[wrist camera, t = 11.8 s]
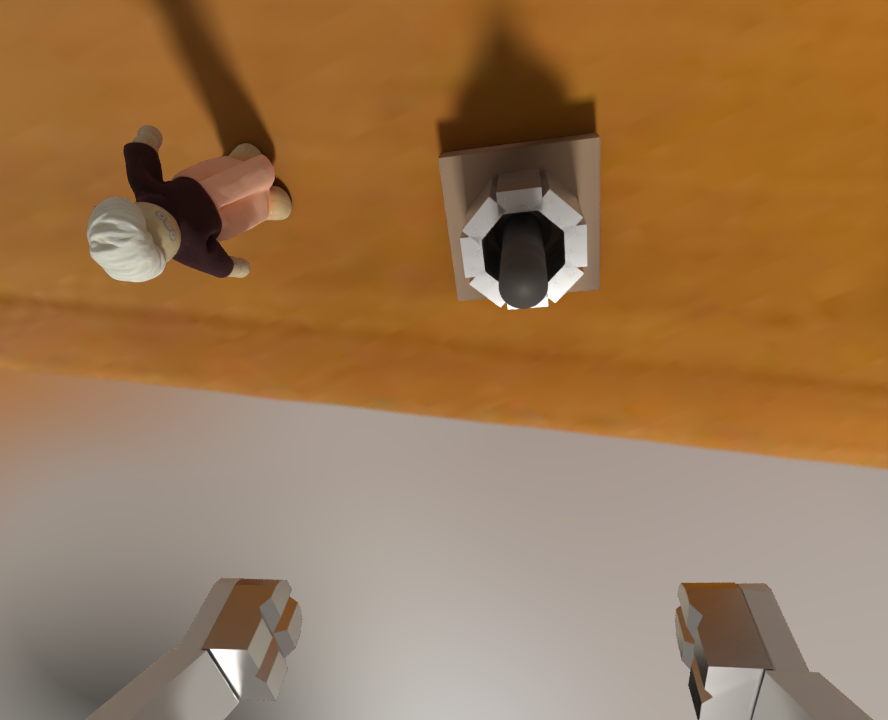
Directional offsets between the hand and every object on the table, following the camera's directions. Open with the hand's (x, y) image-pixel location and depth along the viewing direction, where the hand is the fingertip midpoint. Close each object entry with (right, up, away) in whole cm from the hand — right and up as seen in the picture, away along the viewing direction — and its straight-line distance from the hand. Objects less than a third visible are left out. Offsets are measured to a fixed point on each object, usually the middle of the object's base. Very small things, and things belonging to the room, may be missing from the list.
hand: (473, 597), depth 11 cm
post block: (+4, +13, +19) cm, 23 cm away
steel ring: (+4, +12, +17) cm, 21 cm away
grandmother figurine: (-12, +16, +19) cm, 27 cm away
